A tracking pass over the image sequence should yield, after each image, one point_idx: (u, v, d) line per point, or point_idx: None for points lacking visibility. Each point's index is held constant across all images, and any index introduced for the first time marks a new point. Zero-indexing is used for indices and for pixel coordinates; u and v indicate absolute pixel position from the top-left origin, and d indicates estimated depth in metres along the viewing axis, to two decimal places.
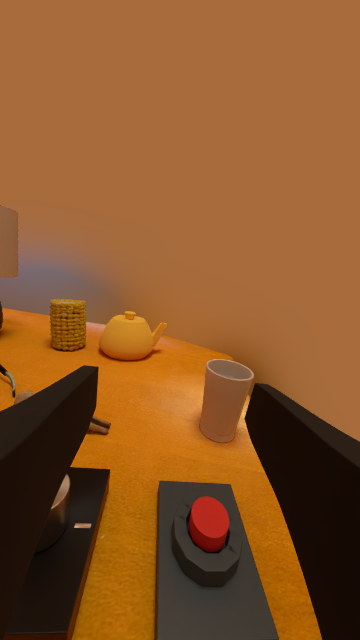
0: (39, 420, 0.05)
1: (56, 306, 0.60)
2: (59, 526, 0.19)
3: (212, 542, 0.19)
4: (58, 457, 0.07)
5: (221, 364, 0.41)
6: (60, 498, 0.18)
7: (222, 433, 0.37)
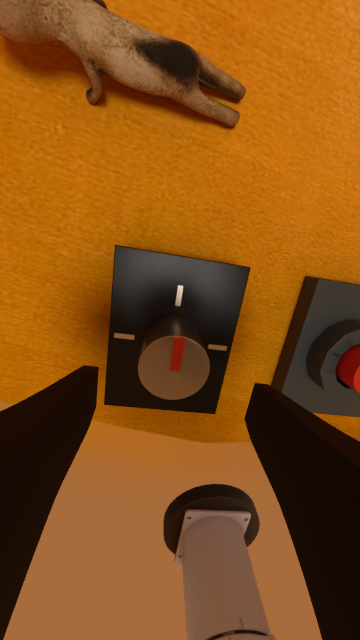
0: (39, 420, 0.05)
1: None
2: None
3: None
4: (58, 457, 0.07)
5: None
6: (200, 382, 0.12)
7: None
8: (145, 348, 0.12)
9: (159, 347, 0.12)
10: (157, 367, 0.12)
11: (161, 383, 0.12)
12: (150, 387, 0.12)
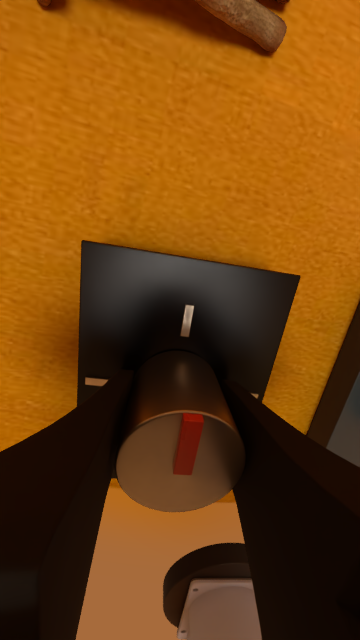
0: (103, 425, 0.05)
1: None
2: None
3: None
4: (109, 460, 0.07)
5: None
6: (227, 485, 0.07)
7: None
8: (127, 432, 0.06)
9: (154, 432, 0.06)
10: (149, 464, 0.06)
11: (157, 489, 0.07)
12: (138, 496, 0.07)
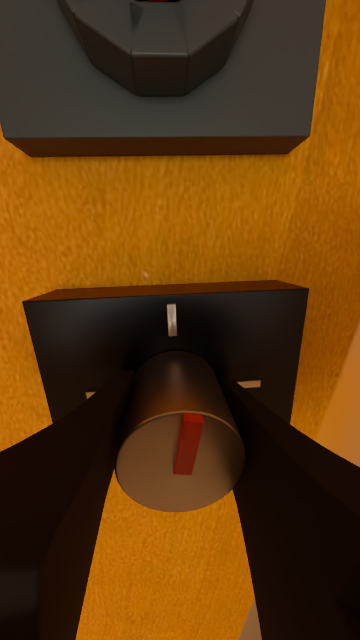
0: (103, 425, 0.05)
1: None
2: None
3: None
4: (110, 460, 0.07)
5: None
6: (227, 485, 0.07)
7: None
8: (127, 432, 0.06)
9: (154, 432, 0.06)
10: (149, 464, 0.06)
11: (158, 489, 0.07)
12: (138, 496, 0.07)
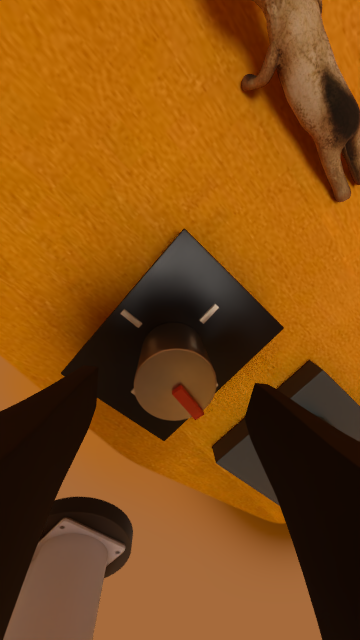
0: (39, 420, 0.05)
1: None
2: None
3: None
4: (58, 457, 0.07)
5: None
6: (141, 395, 0.11)
7: None
8: (216, 380, 0.11)
9: (206, 392, 0.11)
10: (192, 376, 0.10)
11: (173, 366, 0.10)
12: (179, 354, 0.10)
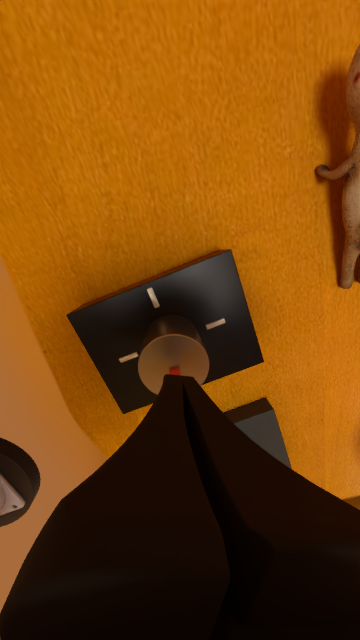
0: (183, 431, 0.06)
1: None
2: None
3: None
4: None
5: None
6: (143, 362, 0.12)
7: None
8: (206, 376, 0.13)
9: None
10: (190, 365, 0.12)
11: (181, 350, 0.12)
12: (191, 343, 0.12)
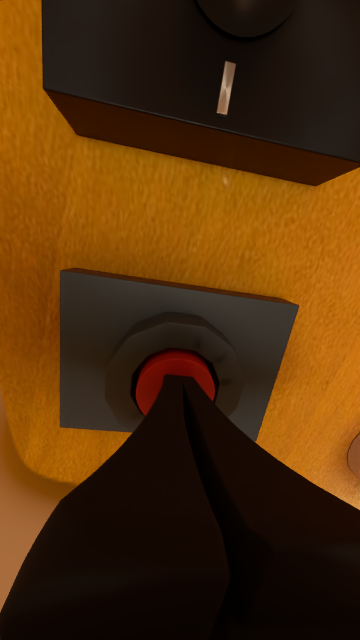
0: (183, 431, 0.06)
1: None
2: None
3: None
4: None
5: None
6: None
7: None
8: None
9: None
10: None
11: None
12: None
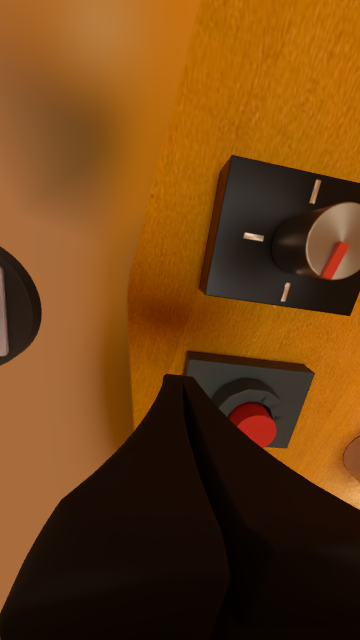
0: (183, 431, 0.06)
1: None
2: (295, 219, 0.14)
3: None
4: None
5: None
6: (323, 218, 0.11)
7: (358, 463, 0.24)
8: (355, 271, 0.12)
9: (344, 270, 0.12)
10: (356, 249, 0.12)
11: None
12: None
